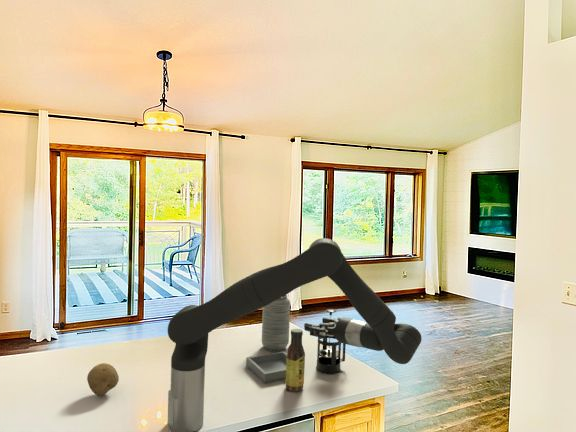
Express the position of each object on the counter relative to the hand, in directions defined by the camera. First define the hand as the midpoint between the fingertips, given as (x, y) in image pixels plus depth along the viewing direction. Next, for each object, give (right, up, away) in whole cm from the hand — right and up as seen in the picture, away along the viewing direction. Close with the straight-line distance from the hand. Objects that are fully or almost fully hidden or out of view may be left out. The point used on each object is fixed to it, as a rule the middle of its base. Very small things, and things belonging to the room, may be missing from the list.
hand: (314, 323), depth 135 cm
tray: (-14, -23, +20) cm, 33 cm away
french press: (+7, -24, +24) cm, 34 cm away
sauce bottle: (-6, -24, +7) cm, 26 cm away
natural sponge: (-67, -22, -3) cm, 71 cm away
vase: (-14, -22, +44) cm, 51 cm away
